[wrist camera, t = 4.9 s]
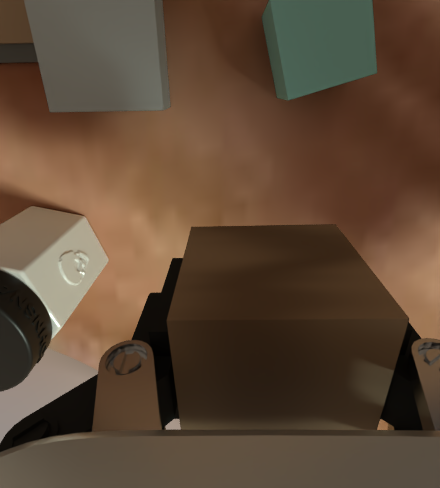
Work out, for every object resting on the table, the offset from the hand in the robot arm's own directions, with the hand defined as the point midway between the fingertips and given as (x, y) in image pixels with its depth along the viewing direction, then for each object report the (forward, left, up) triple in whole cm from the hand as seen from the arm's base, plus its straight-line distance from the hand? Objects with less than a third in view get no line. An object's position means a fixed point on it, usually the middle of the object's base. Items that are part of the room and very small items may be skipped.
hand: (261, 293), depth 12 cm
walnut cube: (0, 0, -1) cm, 1 cm away
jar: (+17, +6, -16) cm, 24 cm away
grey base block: (+9, -9, -15) cm, 20 cm away
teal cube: (-4, -9, -16) cm, 19 cm away
